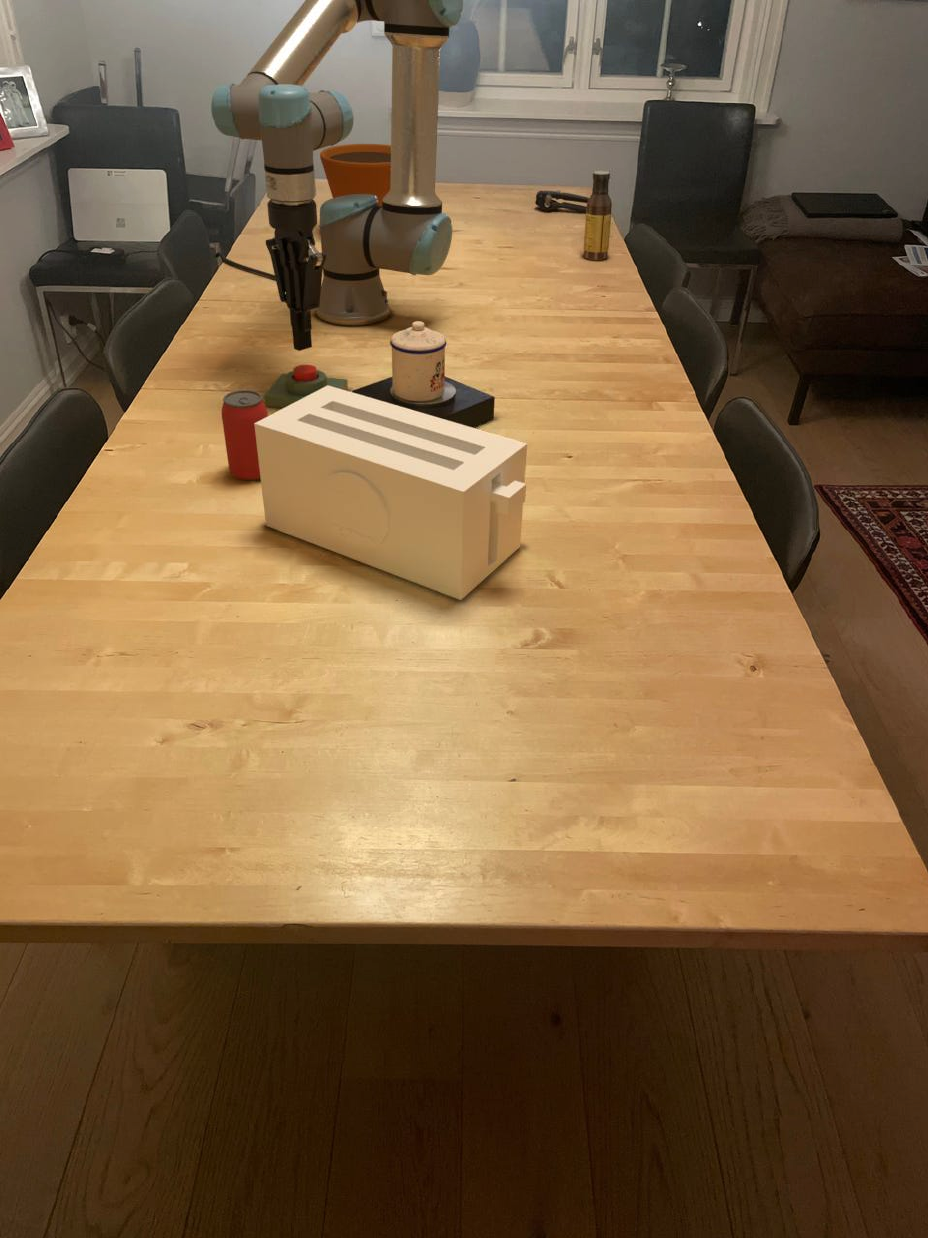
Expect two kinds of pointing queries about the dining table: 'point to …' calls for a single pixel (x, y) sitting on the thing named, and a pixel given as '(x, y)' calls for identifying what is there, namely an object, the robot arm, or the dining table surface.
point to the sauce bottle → (598, 218)
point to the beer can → (242, 432)
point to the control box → (298, 389)
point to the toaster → (393, 487)
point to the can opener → (548, 204)
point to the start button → (305, 373)
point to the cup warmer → (440, 402)
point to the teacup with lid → (418, 363)
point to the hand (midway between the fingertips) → (302, 347)
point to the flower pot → (358, 169)
